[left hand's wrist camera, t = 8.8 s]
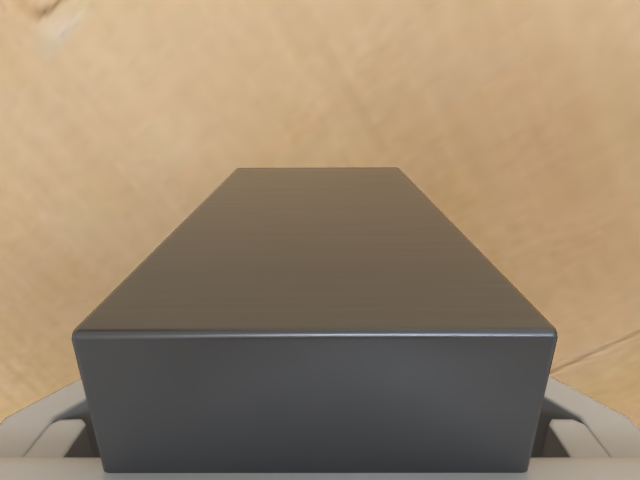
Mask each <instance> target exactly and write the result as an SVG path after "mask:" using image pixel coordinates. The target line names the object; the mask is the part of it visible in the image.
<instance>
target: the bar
mask: <svg viewBox="0 0 640 480" xmlns="http://www.w3.org/2000/svg"><path fill="white" fill-rule="evenodd" d="M72 342H73V346H74V350H75V355H76V359H77V363H78V367H79V371H80V375H81V379H82V383H83V387H84V392H85V396H86V400H87V404H88V408H89V412H90V416H91V420H92V425H93V429H94V433H95V437H96V441H97V445H98V449H99V453H100V457H101V462H102V466H103V470H104V472H107V473H524V472H526V471H528V466H529V462H530V457H531V453H532V449H533V444H534V440H535V435H536V431H537V426H538V422H539V417H540V413H541V409H542V404H543V400H544V395H545V391H546V386H547V382H548V377H549V373H550V368H551V364H552V360H553V355H554V351H555V346H556V342H557V332H556V329H555V328H554V327H553V326H552V325H551V324H550V322H549V321H548V320H547V319H546V318H545V317H544V316H543V315H542V314H541V313H540V312H539V311H538V310H537V309H536V308H535V307H534V306H533V305H532V304H531V303H530V302H529V301H528V300H527V299H526V298H525V297H524V296H523V295H522V294H521V293H520V292H519V291H518V290H517V289H516V288H515V287H514V286H513V285H512V284H511V283H510V282H509V281H508V279H507V278H506V277H505V276H504V275H503V274H502V273H501V272H500V271H499V270H498V269H497V268H496V267H495V266H494V265H493V264H492V263H491V262H490V261H489V260H488V259H487V258H486V257H485V256H484V255H483V254H482V253H481V252H480V251H479V250H478V249H477V248H476V247H475V246H474V245H473V244H472V243H471V242H470V241H469V240H468V239H467V238H466V237H465V235H464V234H463V233H462V232H461V231H460V230H459V229H458V228H457V227H456V226H455V225H454V224H453V223H452V222H451V221H450V220H449V219H448V218H447V217H446V216H445V215H444V214H443V213H442V212H441V211H440V210H439V209H438V208H437V207H436V206H435V205H434V204H433V203H432V202H431V201H430V200H429V199H428V198H427V197H426V196H425V195H424V194H423V193H422V191H421V190H420V189H419V188H418V187H417V186H416V185H415V184H414V183H413V182H412V181H411V180H410V179H409V178H408V177H407V176H406V175H405V174H404V173H403V172H402V171H401V170H400V169H399V168H238V169H236V170H235V171H234V172H233V173H232V174H231V175H230V176H229V177H228V178H227V179H226V180H225V181H224V182H223V183H222V184H221V185H220V186H219V187H218V188H217V189H216V190H215V191H214V192H213V193H212V194H211V195H210V196H209V197H208V198H207V199H206V200H205V201H204V202H203V203H202V204H201V205H200V206H199V207H198V208H197V209H196V210H195V211H194V212H193V213H192V214H191V215H190V216H189V217H188V218H187V219H186V220H185V221H184V222H183V223H182V224H181V225H180V226H179V227H178V228H177V229H176V230H175V231H174V232H173V233H172V234H171V235H169V236H168V237H167V238H166V239H165V240H164V241H163V242H162V243H161V244H160V245H159V246H158V247H157V248H156V249H155V250H154V251H153V252H152V253H151V254H150V255H149V256H148V257H147V258H146V259H145V260H144V261H143V262H142V263H141V264H140V265H139V266H138V267H137V268H136V269H135V270H134V271H133V272H132V273H131V274H130V275H129V276H128V277H127V278H126V279H125V280H124V281H123V282H122V283H121V284H120V285H119V286H118V287H117V288H116V289H115V290H114V291H113V292H112V293H111V294H110V295H109V296H108V297H107V298H106V299H105V300H104V301H103V302H102V303H101V304H100V305H99V306H98V307H97V308H96V309H95V310H94V311H93V312H92V313H91V314H90V315H89V316H88V317H87V318H86V319H85V320H84V321H83V322H82V323H81V324H80V325H79V326H78V327H77V328H76V329H75V330H74V331H73V334H72Z"/></svg>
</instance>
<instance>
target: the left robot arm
mask: <svg viewBox="0 0 640 480" xmlns="http://www.w3.org/2000/svg"><path fill="white" fill-rule="evenodd" d="M0 480H640V429H639V428H638V427H637V426H636V425H635V424H634V423H633V422H632V421H631V420H630V419H629V418H628V417H626V416H624V415H622V414H620V413H618V412H616V411H615V410H613V409H611V408H609V407H607V406H605V405H603V404H601V403H599V402H597V401H596V400H594V399H592V398H590V397H588V396H586V395H584V394H582V393H580V392H579V391H577V390H575V389H573V388H571V387H569V386H567V385H565V384H563V383H562V382H560V381H558V380H556V379H554V378H552V377H550V376H549V377H548V382H547V386H546V391H545V395H544V400H543V404H542V409H541V413H540V417H539V422H538V426H537V431H536V435H535V440H534V444H533V449H532V453H531V457H530V462H529V466H528V471H526V472H524V473H107V472H104V470H103V466H102V462H101V457H100V453H99V449H98V445H97V441H96V437H95V433H94V429H93V425H92V420H91V416H90V412H89V408H88V404H87V400H86V396H85V392H84V387H83V383H82V379H79V380H77V381H75V382H73V383H72V384H70V385H68V386H66V387H64V388H62V389H60V390H58V391H56V392H54V393H52V394H50V395H49V396H47V397H45V398H43V399H41V400H39V401H37V402H35V403H33V404H31V405H29V406H27V407H26V408H24V409H22V410H20V411H18V412H16V413H14V414H12V415H10V416H8V417H6V418H5V419H4V420H3V421H2V422H1V424H0Z"/></svg>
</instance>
